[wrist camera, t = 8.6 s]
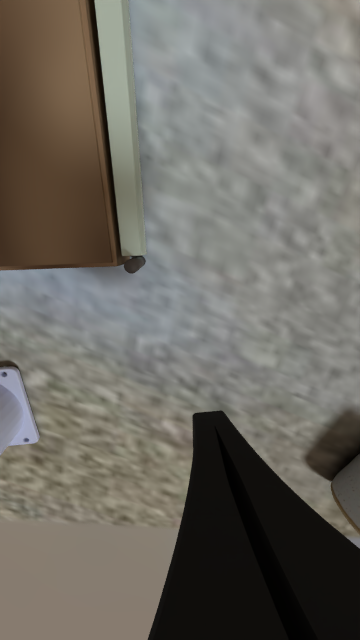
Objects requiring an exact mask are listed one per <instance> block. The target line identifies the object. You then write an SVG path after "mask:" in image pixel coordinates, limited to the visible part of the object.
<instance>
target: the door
mask: <svg viewBox="0 0 360 640" xmlns="http://www.w3.org/2000/svg"><path fill="white" fill-rule="evenodd" d="M95 9H96V18H97V28H98V37H99V46H100V56H101V65H102V74H103V84H104V93H105V102H106V112H107V121H108V130H109V139H110V149H111V158H112V167H113V177H114V186H115V195H116V205H117V214H118V223H119V233H120V242H121V251H122V256H141V255H145V254H147V252H146V238H145V224H144V210H143V196H142V182H141V168H140V154H139V140H138V126H137V112H136V98H135V84H134V70H133V56H132V42H131V28H130V14H129V0H95Z"/></svg>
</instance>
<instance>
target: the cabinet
mask: <svg viewBox="0 0 360 640" xmlns="http://www.w3.org/2000/svg"><path fill="white" fill-rule="evenodd" d="M122 264H124V268H125V270H126V271H127V272H128V273H135V272H136V271H137V270H139V269H140V268H141V267H142V266H143V265H144V264H145V258H144V257H142V256H139V257H136V258H132V259H130V256H122V251H121V242H120V233H119V223H118V214H117V205H116V195H115V186H114V177H113V167H112V158H111V149H110V139H109V130H108V121H107V112H106V102H105V93H104V84H103V74H102V65H101V56H100V46H99V37H98V28H97V18H96V9H95V0H0V270H25V269H52V268H79V267H107V266H119V265H122Z"/></svg>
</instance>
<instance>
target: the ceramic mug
mask: <svg viewBox="0 0 360 640" xmlns="http://www.w3.org/2000/svg"><path fill="white" fill-rule="evenodd" d="M331 491H332V495H333V497H334V500H335V502H336V503H337V505H338V507H339V508H340V510H341V512H342V513H343V515H344V516H345V517H346V519H347V520H348V521H349V523H350V524H351V525H352V526H353V528H354V529H355V530H356V531H357V532H358V534H359V535H360V453H359V454H358V455H357V456H356V457H355V458H354V459H353V460H352V461H351V462H350V463H349V464H348V465H347V466H345V467H344V468H343V469H342V470H341V471H340V472H339V473H338V474H337V475H336V476H335V478H334V479H333V481H332V483H331Z"/></svg>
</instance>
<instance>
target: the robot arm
mask: <svg viewBox="0 0 360 640" xmlns="http://www.w3.org/2000/svg"><path fill="white" fill-rule="evenodd" d="M4 372H6V373H7V374H5V373H4ZM39 438H40V436H39V432H38V429H37V426H36V423H35V420H34V417H33V413H32V410H31V407H30V404H29V401H28V397H27V394H26V391H25V388H24V385H23V382H22V378H21V375H20V372H19V370H18V369H17V368H16V367H12V366H10V367H0V455H1V454H2V453H3V451H4V450H5V449H6V447H7V446H10V445H20V444H31V443H36V442H37V441H38V439H39ZM148 640H360V549H359V548H358V547H357V546H356V545H354V544H353V543H352V542H351V541H350V540H349V539H347V538H346V537H345V536H344V535H342V534H341V533H340V532H339V531H338V530H336V529H335V528H334V527H333V526H332V525H330V524H329V523H328V522H327V521H326V520H324V519H323V518H322V517H321V516H320V515H319V514H318V513H317V512H315V511H314V510H313V509H312V508H311V507H310V506H309V505H308V504H307V503H305V502H304V501H303V500H302V499H301V498H300V497H299V496H298V495H297V494H296V493H295V492H294V491H293V490H292V489H291V488H290V487H289V486H288V485H286V484H285V483H284V482H283V481H282V480H281V479H280V477H279V476H278V475H277V474H276V473H275V472H274V471H273V470H272V469H271V468H270V467H269V466H268V465H267V464H266V463H265V462H264V461H263V460H262V458H261V457H260V456H259V455H258V454H257V453H256V452H255V450H254V449H253V448H252V447H251V446H250V445H249V444H248V442H247V441H246V440H245V439H244V438H243V436H242V435H241V434H240V433H239V431H238V430H237V429H236V428H235V426H234V425H233V424H232V422H231V421H230V420H229V418H228V417H227V416H226V414H225V413H224V412H223V411H212V412H201V413H195V414H194V415H193V461H192V468H191V474H190V481H189V487H188V492H187V497H186V502H185V507H184V512H183V516H182V521H181V525H180V529H179V533H178V537H177V542H176V545H175V549H174V553H173V557H172V560H171V564H170V567H169V571H168V574H167V578H166V581H165V585H164V588H163V592H162V595H161V599H160V602H159V606H158V609H157V612H156V615H155V619H154V622H153V625H152V628H151V631H150V634H149V637H148Z"/></svg>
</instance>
